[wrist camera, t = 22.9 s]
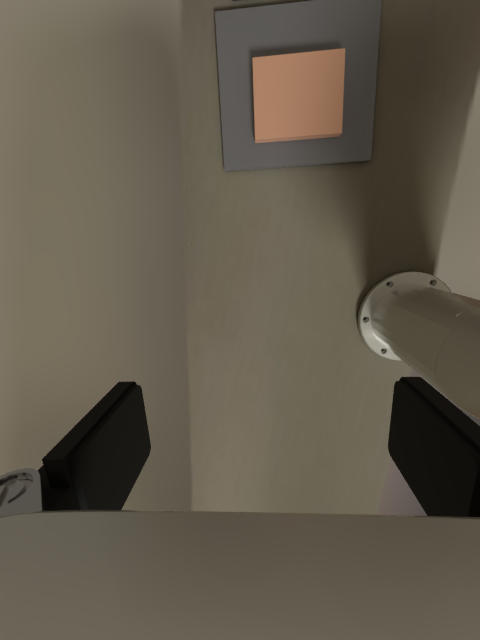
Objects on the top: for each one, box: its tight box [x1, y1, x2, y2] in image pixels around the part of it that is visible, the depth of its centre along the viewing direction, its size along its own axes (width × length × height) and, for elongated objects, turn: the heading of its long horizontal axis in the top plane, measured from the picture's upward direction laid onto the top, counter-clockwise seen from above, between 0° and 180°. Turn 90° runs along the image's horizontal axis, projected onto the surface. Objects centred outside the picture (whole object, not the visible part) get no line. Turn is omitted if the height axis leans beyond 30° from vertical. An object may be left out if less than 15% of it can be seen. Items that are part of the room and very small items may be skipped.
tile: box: [252, 48, 345, 143], centre depth 32 cm, size 10×1×8 cm
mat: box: [215, 0, 382, 171], centre depth 33 cm, size 18×16×1 cm
